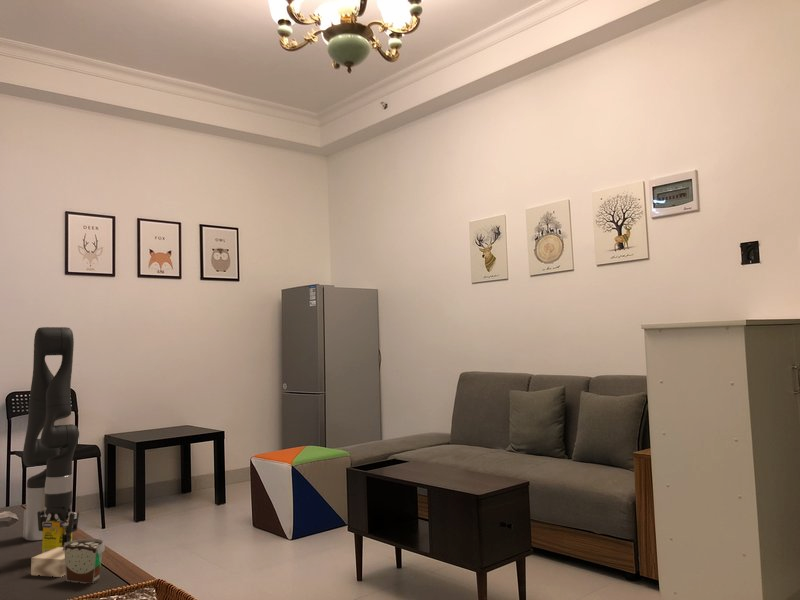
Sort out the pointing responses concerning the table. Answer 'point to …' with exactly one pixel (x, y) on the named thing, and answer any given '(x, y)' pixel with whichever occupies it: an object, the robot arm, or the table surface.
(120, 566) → the table surface
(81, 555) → the food container
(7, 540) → the table surface
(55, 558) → the birch block
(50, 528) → the supplement box
